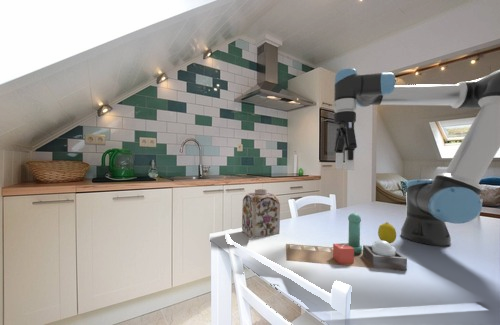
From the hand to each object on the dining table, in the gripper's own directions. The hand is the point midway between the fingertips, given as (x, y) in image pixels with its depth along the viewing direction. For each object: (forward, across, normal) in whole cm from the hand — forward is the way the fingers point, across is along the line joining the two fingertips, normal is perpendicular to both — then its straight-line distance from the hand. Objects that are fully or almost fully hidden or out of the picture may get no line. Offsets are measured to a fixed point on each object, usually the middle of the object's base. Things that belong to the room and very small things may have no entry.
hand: (343, 169), depth 81 cm
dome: (+24, +19, +6) cm, 31 cm away
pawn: (+25, +13, 0) cm, 29 cm away
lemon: (+27, 0, +15) cm, 31 cm away
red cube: (+26, +20, -5) cm, 33 cm away
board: (+27, +17, -6) cm, 32 cm away
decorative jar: (+27, -2, -31) cm, 41 cm away
